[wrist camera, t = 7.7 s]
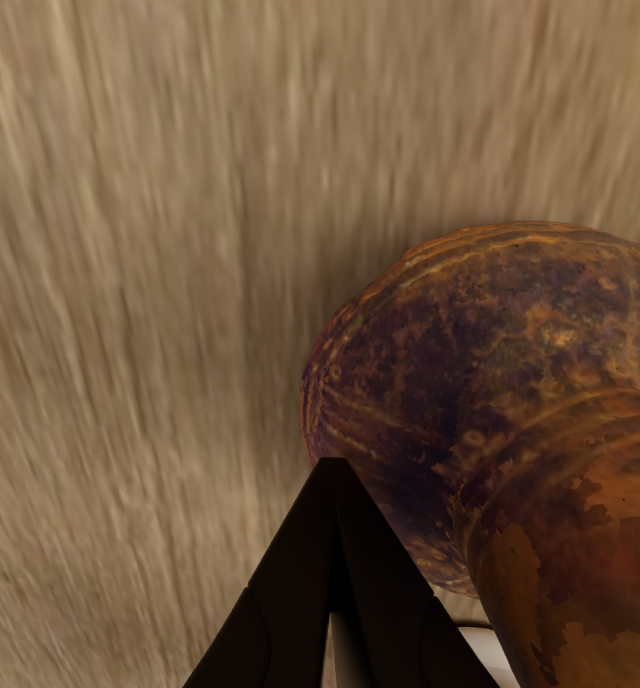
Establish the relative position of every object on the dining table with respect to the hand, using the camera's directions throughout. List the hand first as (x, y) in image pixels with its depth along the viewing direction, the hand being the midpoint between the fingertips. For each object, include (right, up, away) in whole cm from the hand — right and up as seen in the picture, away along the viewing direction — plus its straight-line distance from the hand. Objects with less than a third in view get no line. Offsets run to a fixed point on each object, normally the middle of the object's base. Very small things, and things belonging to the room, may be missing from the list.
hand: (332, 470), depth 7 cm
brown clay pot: (+5, +1, +3) cm, 6 cm away
